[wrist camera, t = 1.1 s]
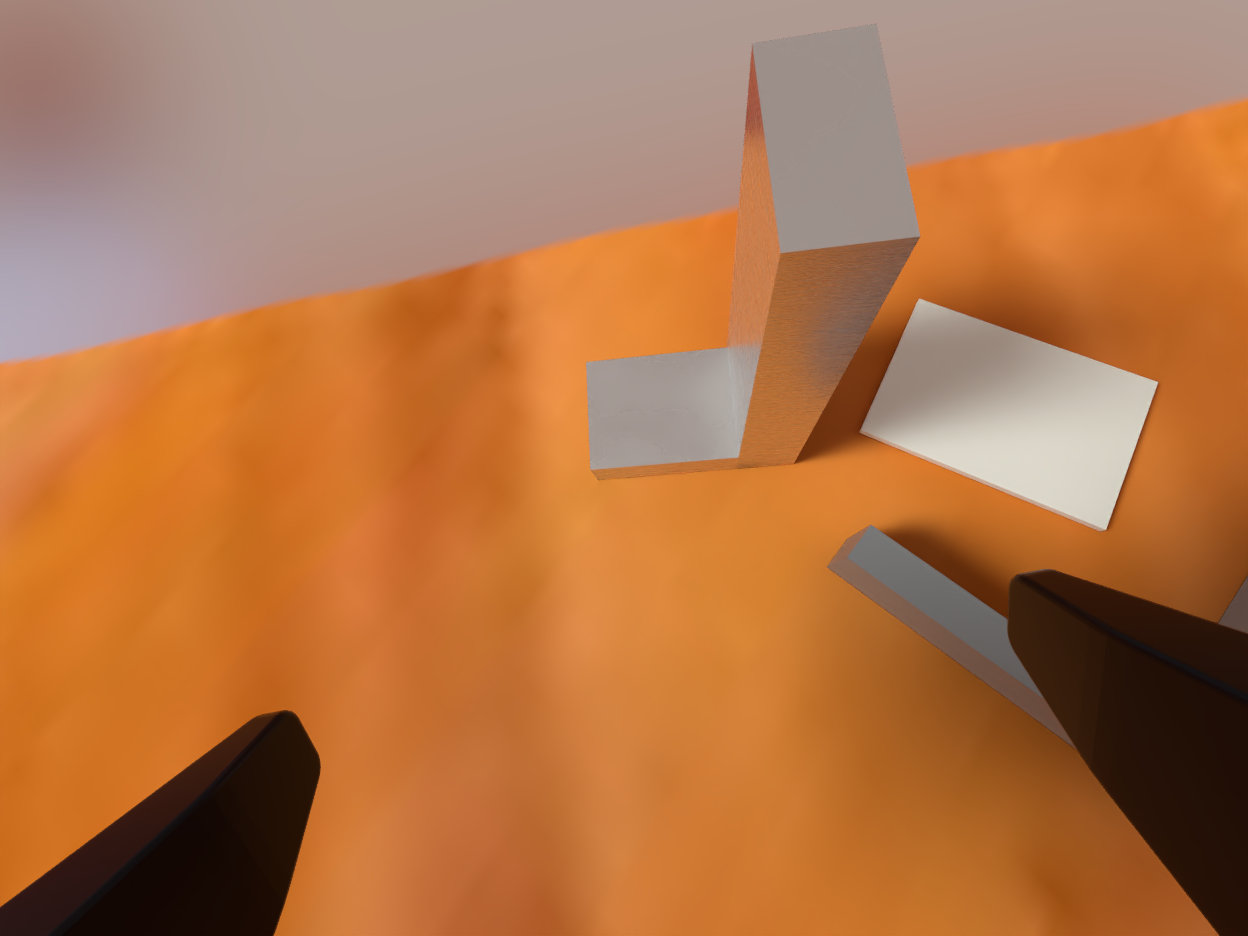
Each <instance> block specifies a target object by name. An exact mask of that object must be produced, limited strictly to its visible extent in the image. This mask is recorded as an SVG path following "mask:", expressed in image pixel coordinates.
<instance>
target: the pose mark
mask: <svg viewBox="0 0 1248 936" xmlns="http://www.w3.org/2000/svg"><path fill="white" fill-rule="evenodd" d="M1157 384H1158V382H1156V381H1153V380H1151V379H1148V378H1145V377H1142V376H1139V375H1136V374H1133V373H1131V372H1128V371H1125V370H1122V369H1119V368H1116V367H1113V366H1111V365H1108V364H1105V363H1102V362H1099V361H1096V360H1093V359H1091V358H1088V357H1085V356H1082V355H1079V354H1076V353H1073V352H1071V351H1068V350H1065V349H1062V348H1059V347H1056V346H1053V345H1051V344H1048V343H1045V342H1042V341H1039V340H1036V339H1033V338H1031V337H1028V336H1025V335H1022V334H1019V333H1016V332H1013V331H1011V330H1008V329H1005V328H1002V327H999V326H996V325H993V324H991V323H988V322H985V321H982V320H979V319H976V318H973V317H971V316H968V315H965V314H962V313H959V312H956V311H953V310H951V309H948V308H945V307H942V306H939V305H936V304H933V303H931V302H928V301H925V300H922V299H919V300H918V301H917V303H916V305H915V308H914V310H913V312H912V314H911V317H910V319H909V321H908V323H907V326H906V328H905V330H904V332H903V335H902V337H901V339H900V341H899V344H898V346H897V348H896V350H895V353H894V355H893V357H892V359H891V362H890V364H889V366H888V368H887V371H886V373H885V375H884V377H883V380H882V382H881V384H880V386H879V389H878V391H877V393H876V395H875V398H874V400H873V402H872V404H871V407H870V409H869V411H868V413H867V416H866V418H865V420H864V422H863V425H862V427H861V429H860V432H859V433H861V434H863V435H866V436H868V437H871V438H873V439H876V440H878V441H881V442H883V443H885V444H888V445H890V446H893V447H895V448H898V449H900V450H903V451H905V452H907V453H910V454H912V455H915V456H917V457H920V458H922V459H925V460H927V461H929V462H932V463H934V464H937V465H939V466H942V467H944V468H947V469H949V470H951V471H954V472H956V473H959V474H961V475H964V476H966V477H968V478H971V479H973V480H976V481H978V482H981V483H983V484H986V485H988V486H990V487H993V488H995V489H998V490H1000V491H1003V492H1005V493H1008V494H1010V495H1012V496H1015V497H1017V498H1020V499H1022V500H1025V501H1027V502H1030V503H1032V504H1034V505H1037V506H1039V507H1042V508H1044V509H1047V510H1049V511H1052V512H1054V513H1056V514H1059V515H1061V516H1064V517H1066V518H1069V519H1071V520H1074V521H1076V522H1078V523H1081V524H1083V525H1086V526H1088V527H1091V528H1093V529H1095V530H1098V531H1104V530H1106V529H1107V526H1108V523H1109V520H1110V517H1111V514H1112V512H1113V509H1114V506H1115V503H1116V500H1117V497H1118V495H1119V492H1120V489H1121V486H1122V483H1123V480H1124V478H1125V475H1126V472H1127V469H1128V466H1129V463H1130V461H1131V458H1132V455H1133V452H1134V449H1135V446H1136V444H1137V441H1138V438H1139V435H1140V432H1141V430H1142V427H1143V424H1144V421H1145V418H1146V415H1147V413H1148V410H1149V407H1150V404H1151V401H1152V398H1153V396H1154V393H1155V390H1156V387H1157Z"/></svg>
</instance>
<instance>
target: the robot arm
mask: <svg viewBox="0 0 1248 936" xmlns="http://www.w3.org/2000/svg"><path fill="white" fill-rule="evenodd" d="M1007 633H1008V638H1009V642H1010V644H1011V647H1012V649H1013V651H1014V652H1015V654H1016V656H1017V657H1018V659H1019V660H1020V662H1021V664H1022V665H1023V667H1024V668H1025V670H1026V671H1027V673H1028V675H1029V676H1030V678H1031V679H1032V681H1033V682H1034V684H1035V685H1036V687H1037V689H1038V690H1039V692H1040V693H1041V695H1042V696H1043V698H1044V700H1045V701H1046V703H1047V704H1048V706H1049V707H1050V709H1051V710H1052V712H1053V714H1054V715H1055V717H1056V718H1057V720H1058V721H1059V723H1060V725H1061V726H1062V728H1063V729H1064V731H1065V732H1066V734H1067V735H1068V737H1069V739H1070V740H1071V742H1072V743H1073V745H1074V746H1075V748H1076V750H1077V751H1078V752H1079V754H1080V755H1081V757H1082V758H1083V760H1084V761H1085V763H1086V764H1087V766H1088V767H1089V769H1090V770H1091V771H1092V773H1093V774H1094V775H1095V777H1096V778H1097V779H1098V781H1099V782H1100V783H1101V785H1102V786H1103V787H1104V789H1105V790H1106V791H1107V793H1108V794H1109V795H1110V797H1111V798H1112V799H1113V800H1114V802H1115V803H1116V804H1117V806H1118V807H1119V808H1120V809H1121V811H1122V812H1123V813H1124V814H1125V816H1126V817H1127V818H1128V820H1129V821H1130V822H1131V823H1132V825H1133V826H1134V827H1135V829H1136V830H1137V831H1138V832H1139V834H1140V835H1141V836H1142V837H1143V839H1144V840H1145V841H1146V843H1147V844H1148V845H1149V846H1150V848H1151V849H1152V850H1153V851H1154V853H1155V854H1156V855H1157V857H1158V858H1159V859H1160V860H1161V862H1162V863H1163V864H1164V866H1165V867H1166V868H1167V869H1168V871H1169V872H1170V873H1171V874H1172V876H1173V877H1174V878H1175V880H1176V881H1177V882H1178V883H1179V885H1180V886H1181V887H1182V889H1183V890H1184V891H1185V892H1186V894H1187V895H1188V896H1189V897H1190V899H1191V900H1192V901H1193V903H1194V904H1195V905H1196V906H1197V908H1198V909H1199V910H1200V911H1201V913H1202V914H1203V915H1204V917H1205V918H1206V919H1207V920H1208V922H1209V923H1210V924H1211V926H1212V927H1213V928H1214V929H1215V931H1216V932H1217V933H1218V934H1219V936H1248V633H1246V632H1243V631H1240V630H1236V629H1233V628H1230V627H1227V626H1224V625H1221V624H1218V623H1215V622H1212V621H1209V620H1206V619H1203V618H1200V617H1197V616H1194V615H1190V614H1187V613H1184V612H1181V611H1178V610H1175V609H1172V608H1169V607H1166V606H1163V605H1160V604H1157V603H1154V602H1151V601H1148V600H1145V599H1141V598H1138V597H1135V596H1132V595H1129V594H1126V593H1123V592H1120V591H1117V590H1114V589H1111V588H1108V587H1105V586H1102V585H1099V584H1096V583H1092V582H1089V581H1086V580H1083V579H1080V578H1077V577H1074V576H1071V575H1068V574H1065V573H1062V572H1059V571H1056V570H1052V569H1043V570H1038V571H1032V572H1027V573H1022V574H1018V575H1016V576H1014V577H1013V578H1012V579H1011V581H1010V584H1009V597H1008V621H1007ZM320 768H321V766H320V758H319V755H318V752H317V751H316V749H315V747H314V745H313V743H312V741H311V740H310V738H309V736H308V734H307V732H306V730H305V729H304V727H303V725H302V723H301V721H300V719H299V718H298V716H297V715H296V714H295V713H293V712H292V711H288V710H283V711H278V712H272V713H267V714H262V715H259V716H256V717H254V718H253V719H251V720H250V721H249V722H247V723H246V724H245V725H243V726H242V727H241V728H239V729H238V730H237V731H235V732H234V733H233V734H231V735H230V736H229V737H227V738H226V739H224V740H223V741H222V742H220V743H219V744H218V745H216V746H215V747H214V748H212V749H211V750H210V751H208V752H207V753H206V754H204V755H203V756H202V757H200V758H199V759H198V760H196V761H195V762H194V763H192V764H191V765H190V766H188V767H187V768H186V769H184V770H183V771H182V772H180V773H179V774H178V775H176V776H175V777H174V778H172V779H171V780H170V781H168V782H167V783H166V784H164V785H163V786H162V787H160V788H159V789H158V790H156V791H155V792H154V793H152V794H151V795H150V796H148V797H147V798H146V799H144V800H143V801H142V802H140V803H139V804H138V805H136V806H135V807H134V808H132V809H131V810H130V811H128V812H127V813H126V814H124V815H123V816H122V817H120V818H119V819H118V820H116V821H115V822H114V823H112V824H111V825H110V826H108V827H107V828H106V829H104V830H103V831H102V832H100V833H99V834H97V835H96V836H95V837H93V838H92V839H91V840H89V841H88V842H87V843H85V844H84V845H83V846H81V847H80V848H79V849H77V850H76V851H75V852H73V853H72V854H71V855H69V856H68V857H67V858H65V859H64V860H63V861H61V862H60V863H59V864H57V865H56V866H55V867H53V868H52V869H51V870H49V871H48V872H47V873H45V874H44V875H43V876H41V877H40V878H39V879H37V880H36V881H35V882H33V883H32V884H31V885H29V886H28V887H27V888H25V889H24V890H23V891H21V892H20V893H19V894H17V895H16V896H15V897H13V898H12V899H11V900H9V901H8V902H7V903H5V904H4V905H3V906H1V907H0V936H274V933H275V931H276V928H277V925H278V922H279V919H280V916H281V913H282V910H283V907H284V904H285V901H286V897H287V894H288V891H289V887H290V884H291V881H292V877H293V873H294V870H295V866H296V862H297V858H298V855H299V851H300V847H301V844H302V840H303V836H304V832H305V829H306V825H307V821H308V818H309V814H310V810H311V806H312V803H313V799H314V795H315V792H316V788H317V784H318V781H319V776H320Z"/></svg>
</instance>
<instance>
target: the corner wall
mask: <svg viewBox="0 0 1248 936" xmlns="http://www.w3.org/2000/svg"><path fill="white" fill-rule="evenodd" d="M827 568H829V569H830V570H832V571H833V572H834V573H836V574H837V575H838V576H840V577H841V578H843V579H844V580H845V581H847V582H848V583H849V584H851V585H852V586H853V587H855V588H856V589H858V590H859V591H860V592H862V593H863V594H864V595H866V596H867V597H869V598H870V599H871V600H873V601H874V602H875V603H877V604H878V605H879V606H881V607H882V608H884V609H885V610H886V611H888V612H889V613H890V614H892V615H893V616H895V617H896V618H897V619H899V620H900V621H901V622H903V623H904V624H905V625H907V626H908V627H910V628H911V629H912V630H914V631H915V632H916V633H918V634H919V635H921V636H922V637H923V638H925V639H926V640H927V641H929V642H930V643H931V644H933V645H934V646H936V647H937V648H938V649H940V650H941V651H942V652H944V653H945V654H947V655H948V656H949V657H951V658H952V659H953V660H955V661H956V662H957V663H959V664H960V665H962V666H963V667H964V668H966V669H967V670H968V671H970V672H971V673H973V674H974V675H975V676H977V677H978V678H979V679H981V680H982V681H983V682H985V683H986V684H988V685H989V686H990V687H992V688H993V689H994V690H996V691H997V692H999V693H1000V694H1001V695H1003V696H1004V697H1005V698H1007V699H1008V700H1009V701H1011V702H1012V703H1014V704H1015V705H1016V706H1018V707H1019V708H1020V709H1022V710H1023V711H1025V712H1026V713H1027V714H1029V715H1030V716H1031V717H1033V718H1034V719H1035V720H1037V721H1038V722H1040V723H1041V724H1042V725H1044V726H1045V727H1046V728H1048V729H1049V730H1051V731H1052V732H1053V733H1055V734H1056V735H1057V736H1059V737H1060V738H1061V739H1063V740H1064V741H1066V742H1067V743H1068V744H1070V745H1071V746H1072V747H1074V748H1075V746H1074V745H1073V743H1072V742H1071V740H1070V739H1069V737H1068V735H1067V734H1066V732H1065V731H1064V729H1063V728H1062V726H1061V725H1060V723H1059V721H1058V720H1057V718H1056V717H1055V715H1054V714H1053V712H1052V710H1051V709H1050V707H1049V706H1048V704H1047V703H1046V701H1045V700H1044V698H1043V696H1042V695H1041V693H1040V692H1039V690H1038V689H1037V687H1036V685H1035V684H1034V682H1033V681H1032V679H1031V678H1030V676H1029V675H1028V673H1027V671H1026V670H1025V668H1024V667H1023V665H1022V664H1021V662H1020V660H1019V659H1018V657H1017V656H1016V654H1015V652H1014V651H1013V649H1012V647H1011V644H1010V642H1009V638H1008V633H1007V621H1008V620H1007V619H1006V618H1005V617H1003V616H1002V615H1000V614H999V613H997V612H996V611H995V610H993V609H992V608H990V607H989V606H987V605H986V604H984V603H983V602H982V601H980V600H979V599H977V598H976V597H974V596H973V595H971V594H970V593H969V592H967V591H966V590H964V589H963V588H961V587H960V586H959V585H957V584H956V583H954V582H953V581H951V580H950V579H948V578H947V577H946V576H944V575H943V574H941V573H940V572H938V571H937V570H936V569H934V568H933V567H931V566H930V565H928V564H927V563H925V562H924V561H923V560H921V559H920V558H918V557H917V556H915V555H914V554H912V553H911V552H910V551H908V550H907V549H905V548H904V547H902V546H901V545H900V544H898V543H897V542H895V541H894V540H892V539H891V538H889V537H888V536H887V535H885V534H884V533H882V532H881V531H879V530H878V529H877V528H875V527H874V526H872V525H870V526H868V527H866V528H865V529H863V530H861V531H860V532H858V533H856V534H855V535H853V536H851V537H850V538H848V539H847V540H846V542H845V543H844V544H843V546H842V547H841V548H840V550H839V551H838V552H837V554H836V555H835V556H834V558H833V559H832V560H831V562H830V563H829V565H828V566H827ZM1218 624H1221V625H1224V626H1227V627H1230V628H1233V629H1236V630H1240V631H1243V632H1246V633H1248V577H1247V578H1246V580H1245V581H1244V583H1243V584H1242V586H1241V588H1240V589H1239V591H1238V592H1237V594H1236V595H1235V597H1234V599H1233V600H1232V602H1231V603H1230V605H1229V607H1228V608H1227V610H1226V611H1225V613H1224V614H1223V616H1222V618H1221V619H1220V621H1219V622H1218ZM1075 749H1076V748H1075Z"/></svg>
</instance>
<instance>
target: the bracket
mask: <svg viewBox="0 0 1248 936" xmlns="http://www.w3.org/2000/svg"><path fill="white" fill-rule="evenodd" d="M919 238H920V233H919V228H918V223H917V218H916V213H915V208H914V203H913V199H912V194H911V189H910V184H909V179H908V174H907V169H906V165H905V160H904V155H903V150H902V146H901V141H900V135H899V131H898V126H897V121H896V116H895V111H894V106H893V102H892V97H891V92H890V87H889V82H888V78H887V72H886V67H885V63H884V58H883V53H882V48H881V43H880V38H879V33H878V28H877V24H871V25H865V26H859V27H852V28H846V29H840V30H833V31H827V32H821V33H814V34H808V35H802V36H796V37H789V38H783V39H777V40H770V41H764V42H758V43H752V51H751V63H750V74H749V86H748V98H747V111H746V123H745V135H744V148H743V160H742V171H741V184H740V196H739V208H738V220H737V232H736V244H735V257H734V269H733V281H732V293H731V305H730V317H729V330H728V342H727V348H718V349H708V350H699V351H689V352H679V353H670V354H660V355H650V356H641V357H631V358H621V359H612V360H602V361H593V362H586V367H587V393H588V418H589V444H590V469H591V471H592V473H593V474H594V475H595V477H596V478H597V479H598V480H604V479H616V478H628V477H640V476H653V475H665V474H677V473H689V472H701V471H714V470H726V469H738V468H750V467H763V466H775V465H787V464H794V462H795V461H796V459H797V457H798V455H799V453H800V452H801V450H802V448H803V446H804V444H805V443H806V441H807V439H808V437H809V435H810V434H811V432H812V430H813V428H814V426H815V425H816V423H817V421H818V419H819V417H820V416H821V414H822V412H823V410H824V408H825V407H826V405H827V403H828V401H829V399H830V398H831V396H832V394H833V392H834V390H835V389H836V387H837V385H838V383H839V382H840V380H841V378H842V376H843V374H844V373H845V371H846V369H847V367H848V365H849V364H850V362H851V360H852V358H853V356H854V355H855V353H856V351H857V349H858V347H859V346H860V344H861V342H862V340H863V338H864V337H865V335H866V333H867V331H868V329H869V328H870V326H871V324H872V322H873V320H874V319H875V317H876V315H877V313H878V311H879V310H880V308H881V306H882V304H883V302H884V301H885V299H886V297H887V295H888V294H889V292H890V290H891V288H892V286H893V285H894V283H895V281H896V279H897V277H898V276H899V274H900V272H901V270H902V268H903V267H904V265H905V263H906V261H907V259H908V258H909V256H910V254H911V252H912V250H913V249H914V247H915V245H916V243H917V241H918V240H919Z"/></svg>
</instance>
